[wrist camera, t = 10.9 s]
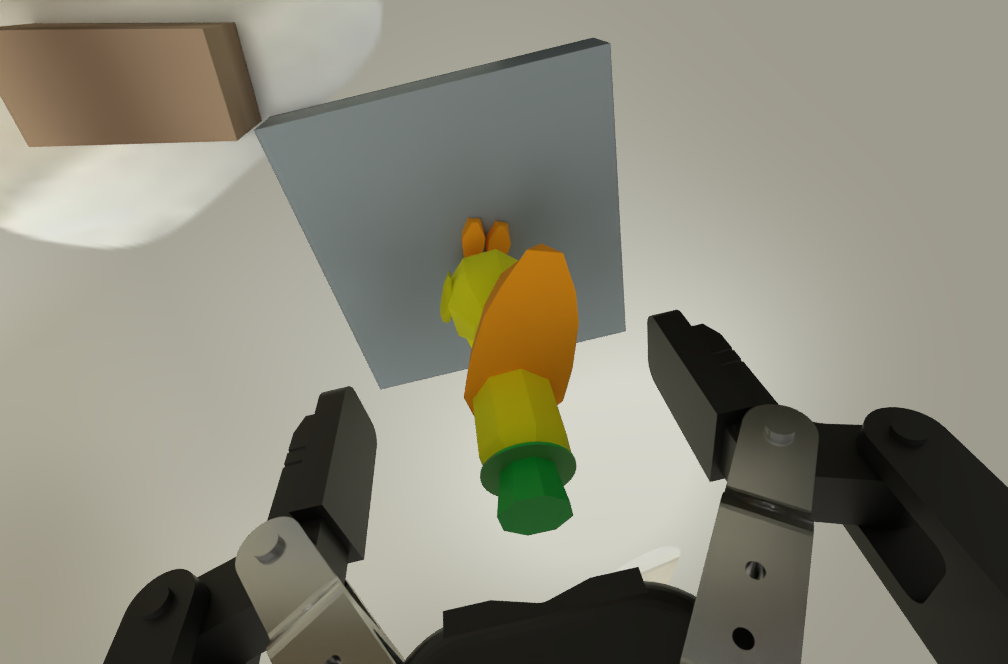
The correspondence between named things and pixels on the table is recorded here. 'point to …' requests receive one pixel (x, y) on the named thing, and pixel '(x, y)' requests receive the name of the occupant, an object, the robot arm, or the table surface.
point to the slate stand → (456, 194)
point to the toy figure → (517, 371)
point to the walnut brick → (126, 83)
